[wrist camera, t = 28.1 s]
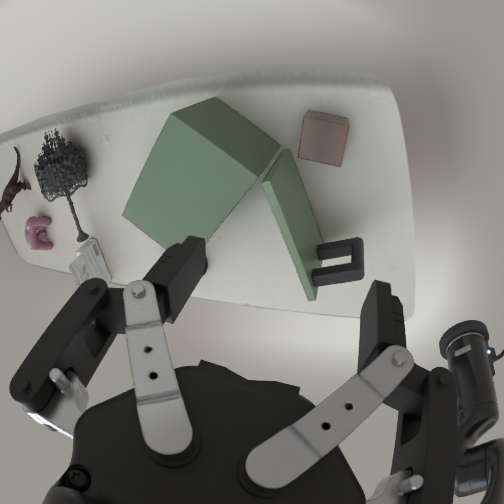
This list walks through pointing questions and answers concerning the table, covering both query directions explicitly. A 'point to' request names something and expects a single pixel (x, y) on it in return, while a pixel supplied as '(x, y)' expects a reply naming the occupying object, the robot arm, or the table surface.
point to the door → (307, 231)
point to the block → (323, 138)
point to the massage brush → (61, 172)
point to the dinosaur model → (12, 188)
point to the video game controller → (36, 238)
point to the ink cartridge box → (89, 263)
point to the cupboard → (197, 172)
